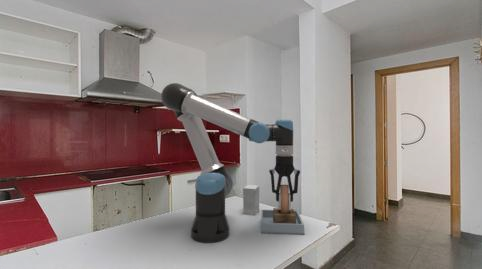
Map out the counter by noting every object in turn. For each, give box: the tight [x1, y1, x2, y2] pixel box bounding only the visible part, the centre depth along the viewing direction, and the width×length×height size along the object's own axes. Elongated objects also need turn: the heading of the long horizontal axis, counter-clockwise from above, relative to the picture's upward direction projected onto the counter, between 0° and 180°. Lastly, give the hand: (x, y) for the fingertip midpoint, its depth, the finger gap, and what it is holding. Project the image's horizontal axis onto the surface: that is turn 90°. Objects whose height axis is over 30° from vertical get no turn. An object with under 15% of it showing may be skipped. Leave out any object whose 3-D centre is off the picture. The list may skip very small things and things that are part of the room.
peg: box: [279, 184, 290, 214], centre depth 104 cm, size 4×4×14 cm
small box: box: [242, 184, 260, 216], centre depth 121 cm, size 8×6×13 cm
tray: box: [260, 209, 305, 236], centre depth 104 cm, size 17×17×4 cm
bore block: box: [272, 207, 296, 224], centre depth 104 cm, size 9×9×5 cm
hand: (284, 208), depth 104 cm, fingers closed on peg, 3 cm apart
